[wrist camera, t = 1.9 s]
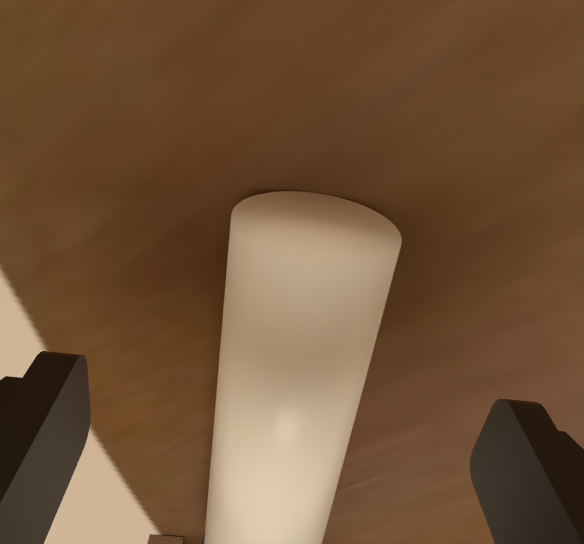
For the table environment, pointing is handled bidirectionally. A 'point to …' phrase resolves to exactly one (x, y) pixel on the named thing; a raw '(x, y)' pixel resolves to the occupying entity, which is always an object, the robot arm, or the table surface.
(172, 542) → the grey u-shaped panel
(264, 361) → the white long cylinder
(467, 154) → the table surface
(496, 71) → the table surface
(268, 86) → the table surface
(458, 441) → the table surface
